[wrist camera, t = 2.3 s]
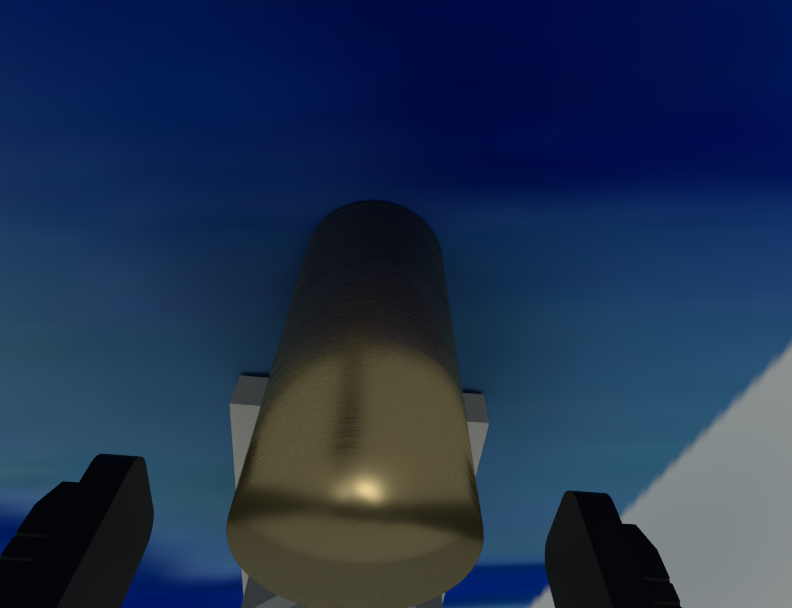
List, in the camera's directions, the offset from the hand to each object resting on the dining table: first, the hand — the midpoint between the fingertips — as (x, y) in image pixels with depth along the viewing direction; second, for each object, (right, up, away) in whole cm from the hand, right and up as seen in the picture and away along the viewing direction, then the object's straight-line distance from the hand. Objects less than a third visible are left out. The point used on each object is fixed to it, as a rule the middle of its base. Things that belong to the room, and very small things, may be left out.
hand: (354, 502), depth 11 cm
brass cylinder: (0, +5, +7) cm, 9 cm away
